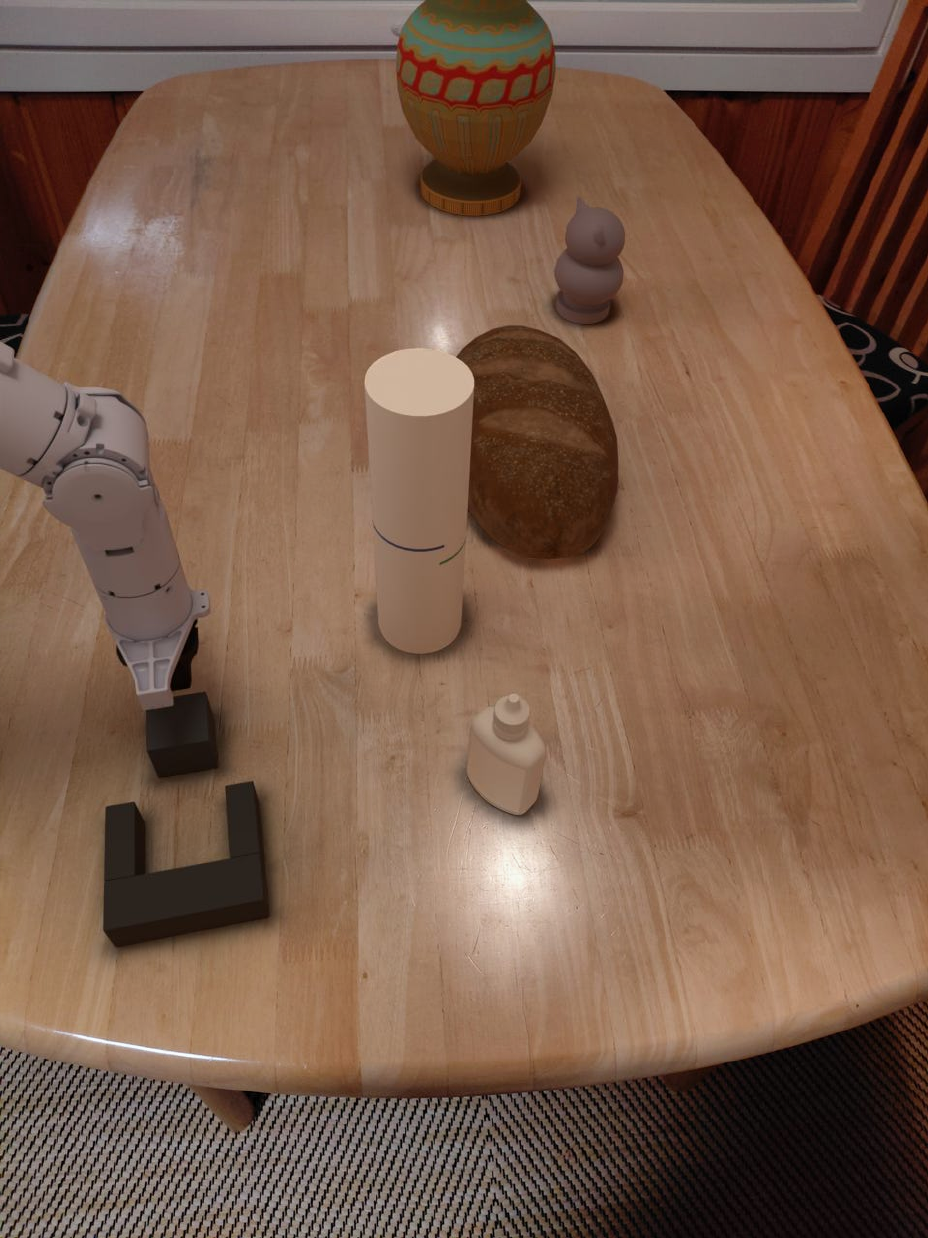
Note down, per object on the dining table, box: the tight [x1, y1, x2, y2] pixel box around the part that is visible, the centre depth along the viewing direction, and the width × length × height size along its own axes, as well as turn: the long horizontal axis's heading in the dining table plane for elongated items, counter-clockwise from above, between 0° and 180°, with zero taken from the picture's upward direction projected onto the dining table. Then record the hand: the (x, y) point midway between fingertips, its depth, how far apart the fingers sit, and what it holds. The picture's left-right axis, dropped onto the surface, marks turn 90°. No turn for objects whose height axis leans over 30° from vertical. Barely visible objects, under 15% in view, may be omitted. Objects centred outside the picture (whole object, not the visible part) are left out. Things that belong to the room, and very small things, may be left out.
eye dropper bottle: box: [466, 693, 547, 816], centre depth 66 cm, size 4×6×12 cm
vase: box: [395, 0, 557, 217], centre depth 116 cm, size 20×20×30 cm
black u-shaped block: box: [102, 780, 271, 948], centre depth 64 cm, size 10×9×3 cm
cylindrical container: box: [364, 347, 474, 655], centre depth 70 cm, size 7×7×25 cm
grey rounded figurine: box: [554, 195, 626, 325], centre depth 106 cm, size 8×8×12 cm
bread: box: [455, 324, 619, 561], centre depth 89 cm, size 16×29×11 cm, turn 9°
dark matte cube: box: [145, 691, 219, 778], centre depth 70 cm, size 4×4×4 cm
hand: (177, 683), depth 72 cm, fingers closed
